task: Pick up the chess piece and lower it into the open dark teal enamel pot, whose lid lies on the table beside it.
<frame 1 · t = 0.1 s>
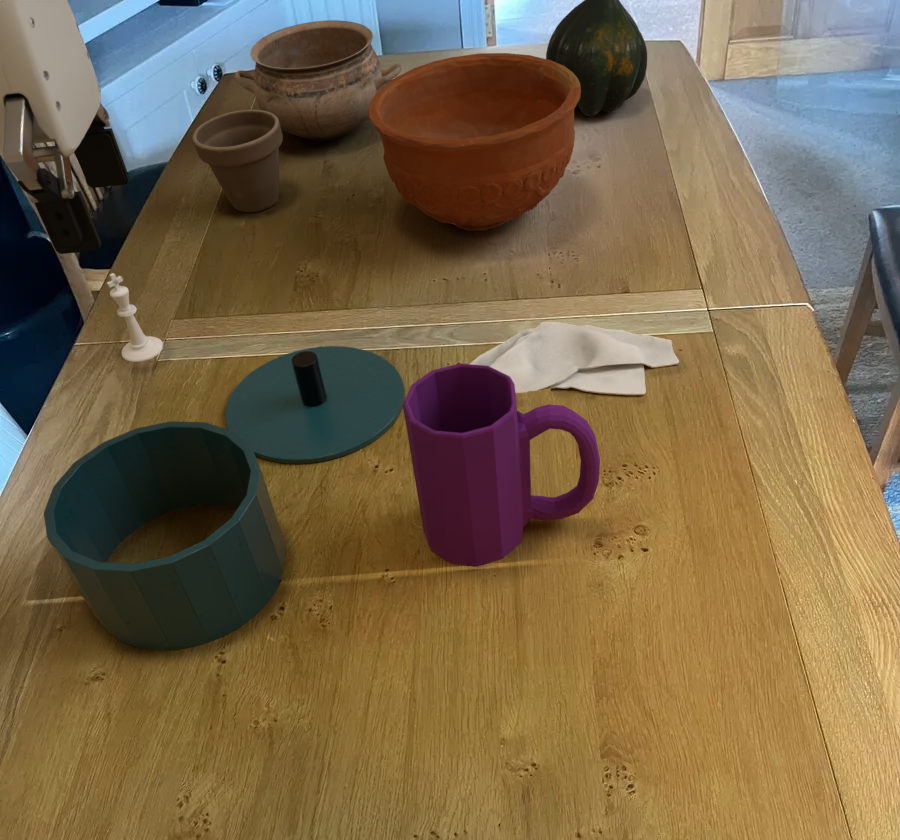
hand: (95, 215, 69), 28 cm above the table, tool pointing down, fingers open, 9 cm apart
cloth: (552, 364, 99), on the table
squash: (593, 104, 139), on the table
bowl: (482, 216, 121), on the table
flower pot: (255, 203, 129), on the table
cooking pot: (328, 133, 142), on the table
lid: (315, 403, 97), point 1 cm above the table
chess piece: (144, 355, 108), on the table
pot: (189, 571, 84), on the table
mug: (510, 531, 84), on the table
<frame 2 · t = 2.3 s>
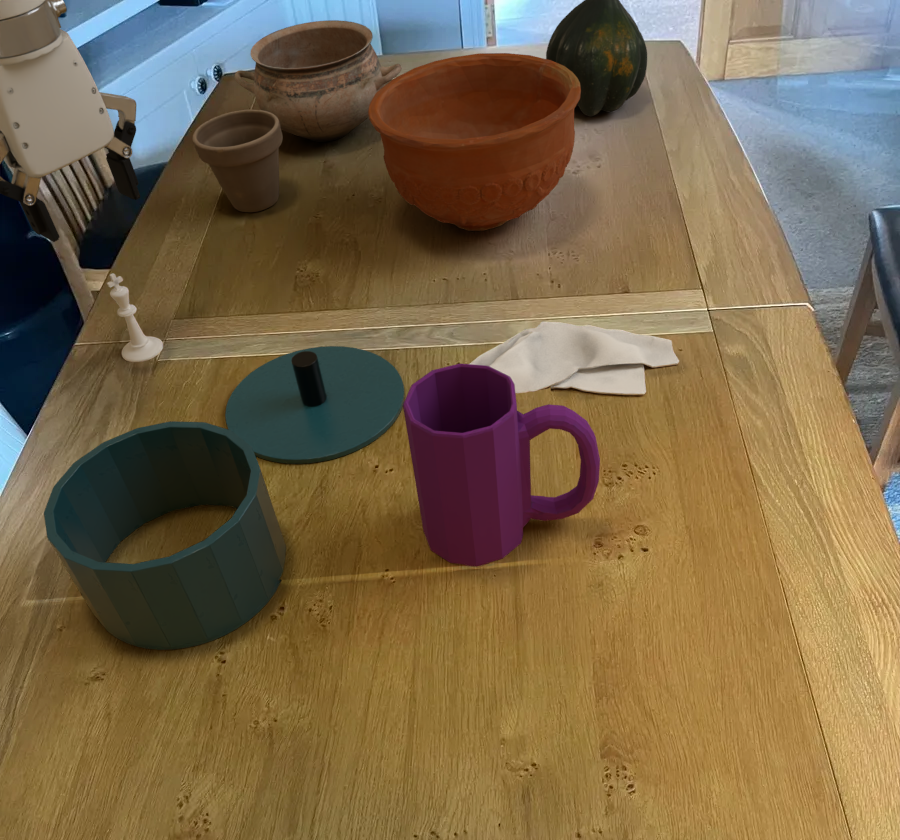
hand: (90, 215, 95), 16 cm above the table, tool pointing down, fingers open, 9 cm apart
nothing on the table moved.
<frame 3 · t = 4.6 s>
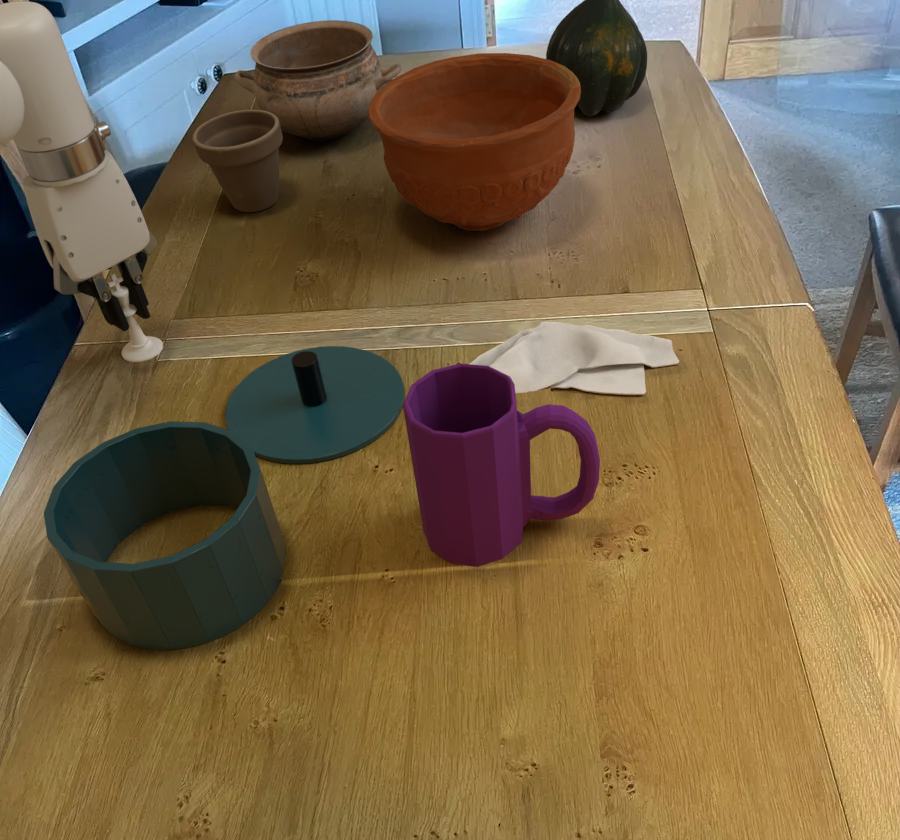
hand: (130, 319, 104), 5 cm above the table, tool pointing down, fingers closed on chess piece
chess piece: (144, 355, 108), on the table, touching gripper
everything else where it was.
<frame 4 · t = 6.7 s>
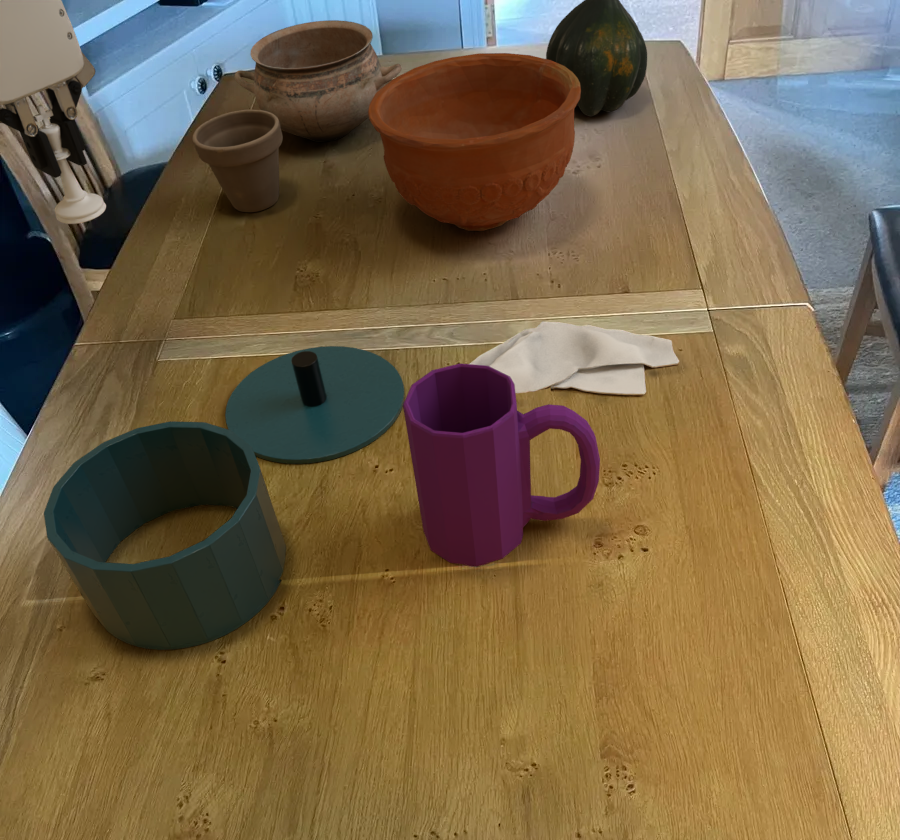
hand: (63, 166, 89), 22 cm above the table, tool pointing down, fingers closed on chess piece
chess piece: (82, 213, 93), point 18 cm above the table, touching gripper
everything else where it was.
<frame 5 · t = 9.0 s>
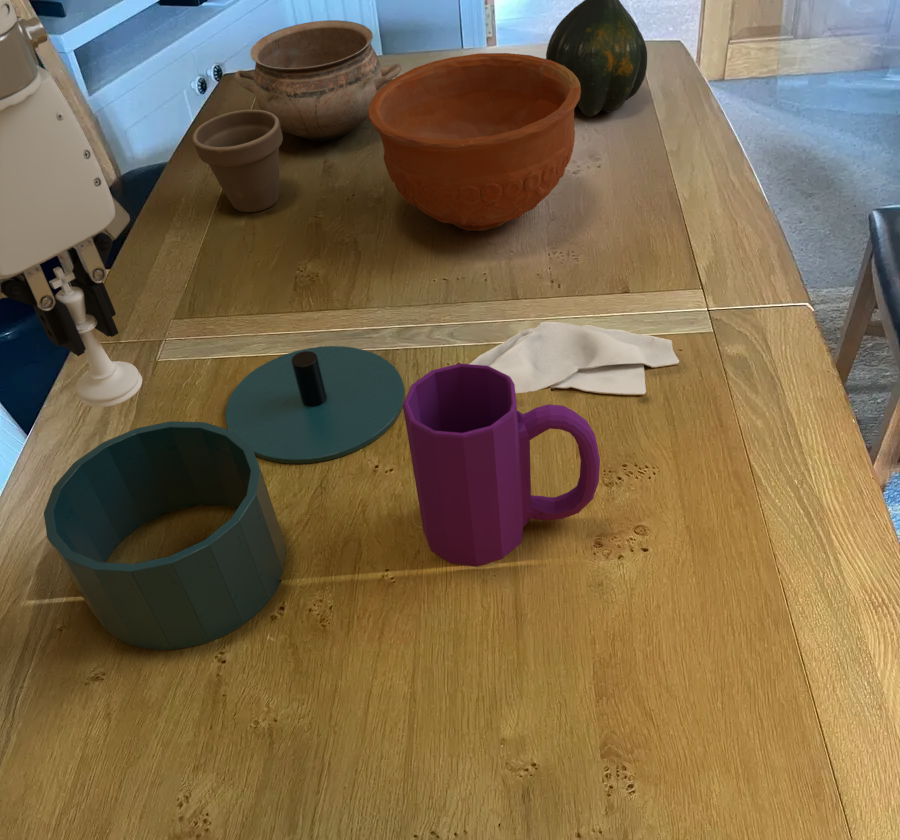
hand: (87, 337, 68), 23 cm above the table, tool pointing down, fingers closed on chess piece
chess piece: (111, 389, 72), point 18 cm above the table, touching gripper
everything else where it was.
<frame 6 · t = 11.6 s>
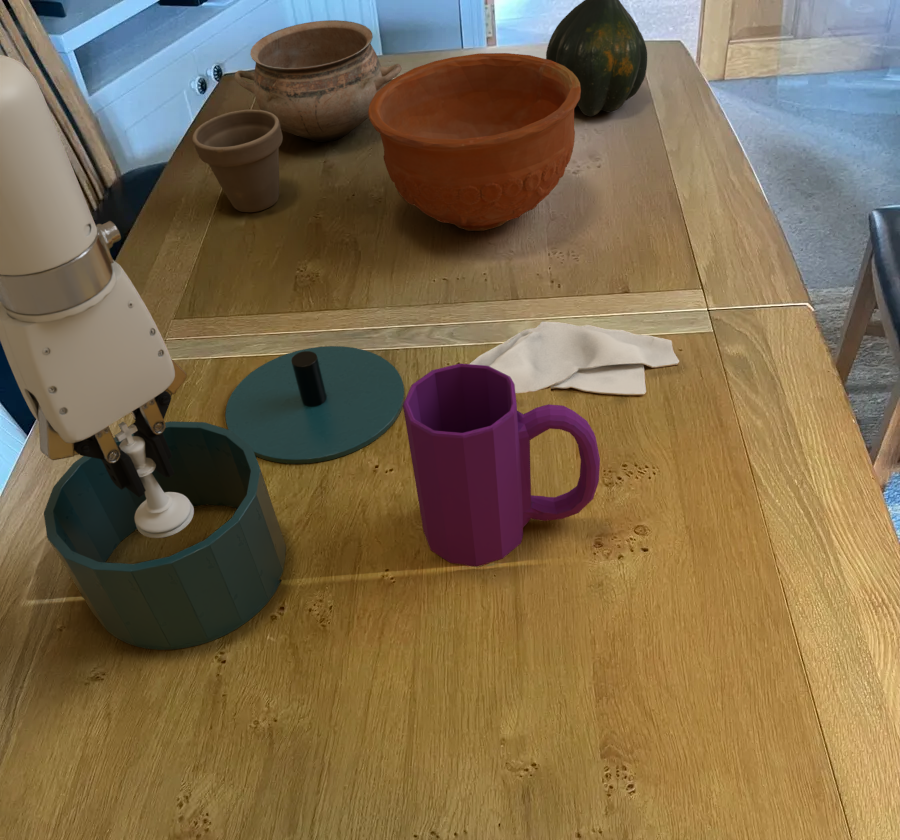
hand: (146, 477, 75), 11 cm above the table, tool pointing down, fingers closed on chess piece
chess piece: (166, 519, 79), point 7 cm above the table, touching gripper
everything else where it was.
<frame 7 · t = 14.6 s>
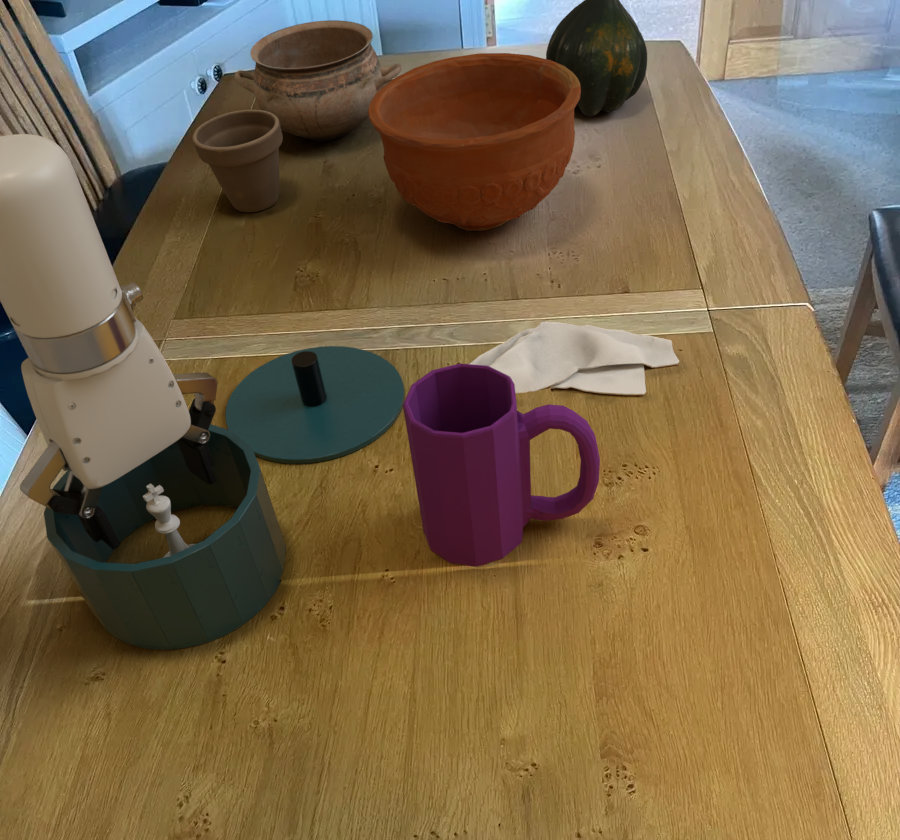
hand: (156, 507, 78), 8 cm above the table, tool pointing down, fingers open, 9 cm apart
chess piece: (188, 569, 84), resting on pot
everything else where it was.
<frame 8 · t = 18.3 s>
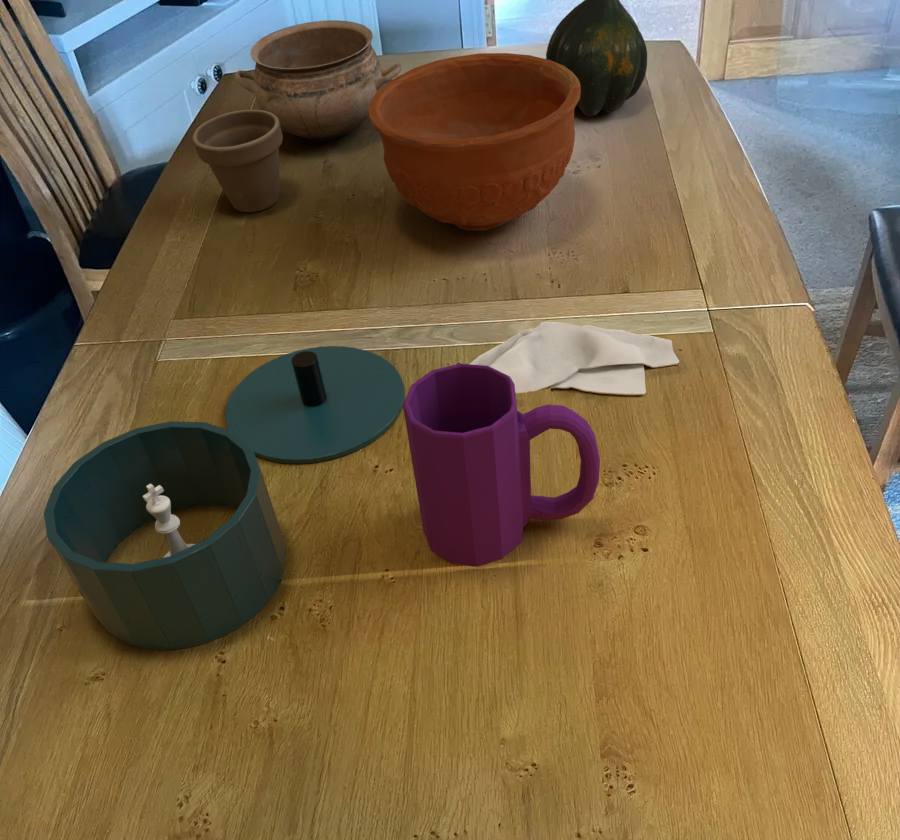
nothing on the table moved.
at the end: chess piece inside the target area in the pot (0.1 cm from its centre), point 0.3 cm above the pot's base; chess piece tilted 0° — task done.
